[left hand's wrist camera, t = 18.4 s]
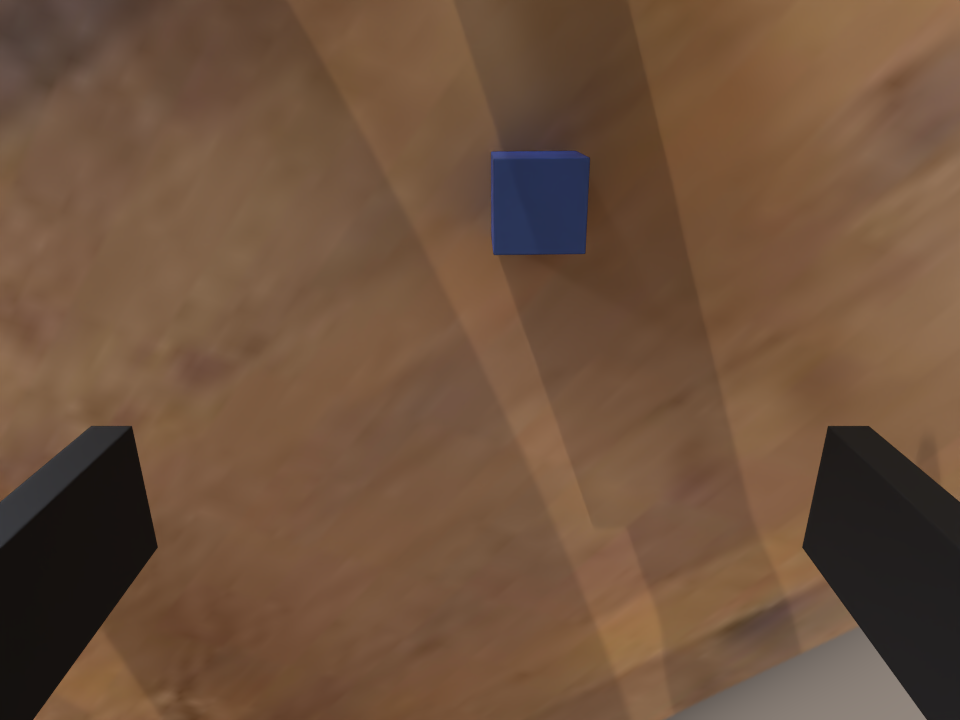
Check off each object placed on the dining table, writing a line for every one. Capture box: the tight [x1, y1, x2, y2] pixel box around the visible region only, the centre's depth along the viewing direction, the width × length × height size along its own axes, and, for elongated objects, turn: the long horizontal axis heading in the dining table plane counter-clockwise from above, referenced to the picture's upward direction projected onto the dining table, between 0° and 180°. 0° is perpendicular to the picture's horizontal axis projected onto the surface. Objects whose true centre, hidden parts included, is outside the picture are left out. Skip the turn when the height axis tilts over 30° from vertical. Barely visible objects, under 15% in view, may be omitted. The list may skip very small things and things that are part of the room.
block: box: [491, 151, 590, 255], centre depth 30 cm, size 4×4×4 cm
